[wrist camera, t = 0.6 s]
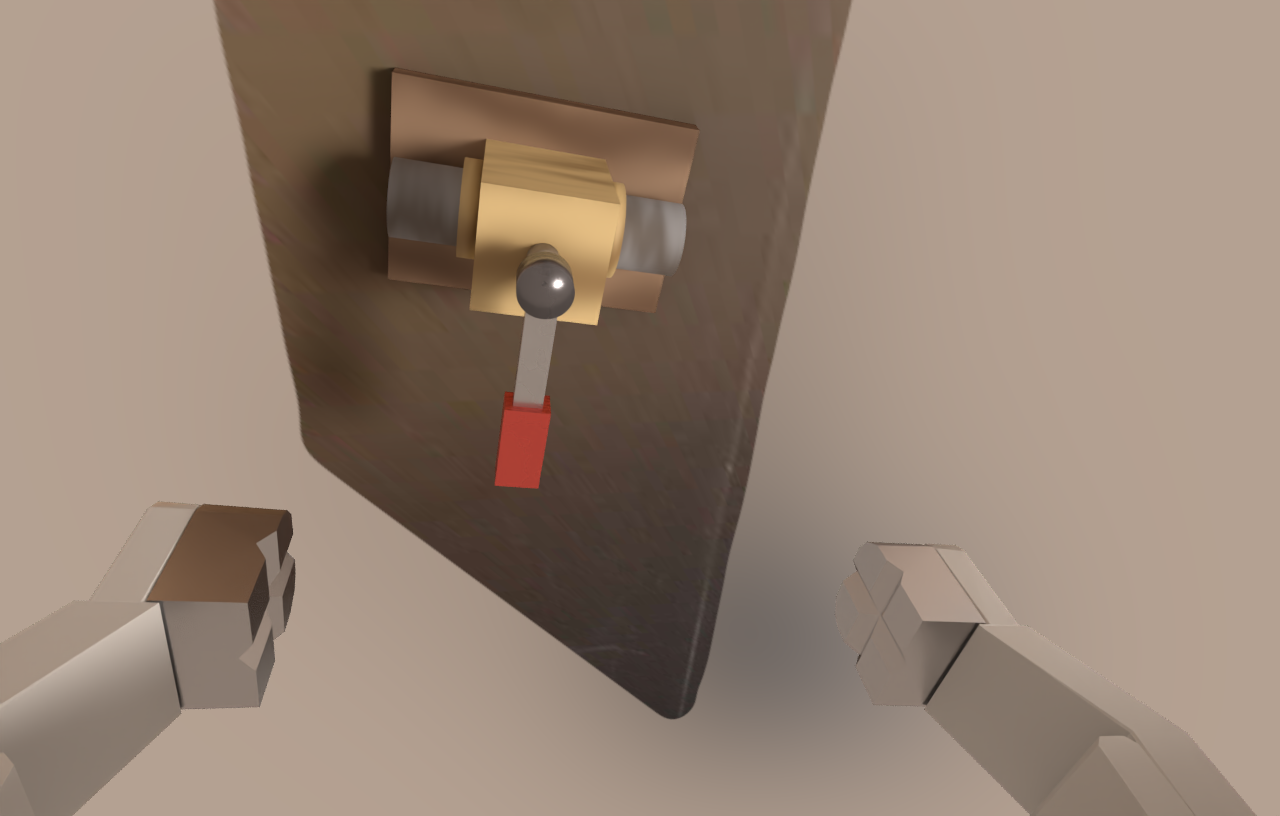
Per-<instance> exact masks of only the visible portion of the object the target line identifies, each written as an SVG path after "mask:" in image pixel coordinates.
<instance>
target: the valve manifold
mask: <svg viewBox="0 0 1280 816" xmlns="http://www.w3.org/2000/svg"><path fill="white" fill-rule="evenodd" d="M699 132H700V130H699V129H698V128H697V126H696V125H693V124H688V123H683V122H677V121H672V120H667V119H662V118H657V117H651V116H646V115H641V114H636V113H630V112H625V111H620V110H615V109H609V108H604V107H599V106H594V105H588V104H583V103H578V102H573V101H568V100H562V99H557V98H552V97H547V96H541V95H536V94H531V93H526V92H520V91H515V90H510V89H505V88H500V87H494V86H489V85H484V84H479V83H473V82H468V81H463V80H458V79H452V78H447V77H442V76H437V75H431V74H426V73H421V72H416V71H411V70H405V69H400V68H395V69H394V70H393V71H392V93H391V143H390V175H389V183H388V194H387V231H388V236H389V242H388V279H391V280H398V281H406V282H414V283H422V284H430V285H438V286H446V287H454V288H462V289H469V290H471V301H470V310H475V311H484V312H492V313H500V314H508V315H517V316H524V310H523V309H522V308H521V307H520V305H519V303H518V301H517V297H516V273H517V269H518V267H519V265H520V263H521V262H522V261H523V260H524V259H525V258H526V257H527V256H529V255H531V254H533V253H536V252H542V251H546V252H552V253H555V254H557V255H559V256H561V257H562V258H564V259H565V260H566V261H567V263H568V264H569V266H570V268H571V270H572V275H573V282H574V288H575V297H574V301H573V303H572V305H571V307H570V308H569V309H568V310H567V311H566V312H565V313H564V314H563V315H561V316H559V317H557V320H558V321H567V322H575V323H583V324H592V325H597V323H598V317H599V312H600V307H601V306H604V307H611V308H619V309H627V310H635V311H643V312H651V313H655V312H656V307H657V303H658V299H659V295H660V291H661V287H662V283H663V279H664V275H666V276H672V275H673V274H674V273H675V272H676V270H677V268H678V265H679V263H680V260H681V256H682V252H683V248H684V242H685V235H686V211H685V207H684V205H683V204H682V201H683V197H684V193H685V189H686V185H687V181H688V177H689V172H690V168H691V164H692V160H693V156H694V152H695V148H696V144H697V140H698V136H699Z"/></svg>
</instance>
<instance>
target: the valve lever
mask: <svg viewBox="0 0 1280 816" xmlns="http://www.w3.org/2000/svg"><path fill="white" fill-rule="evenodd" d="M516 297H517V301H518V303H519V305H520V307H521V308H522V309H523V310H524V319H523V326H522V334H521V341H520V348H519V356H518V363H517V371H516V378H515V385H514V393H513V392H505V395H504V403H503V411H502V419H501V426H500V434H499V442H498V450H497V458H496V466H495V486H509V487H524V488H538V486H539V480H540V474H541V468H542V463H543V457H544V451H545V445H546V439H547V433H548V428H549V422H550V416H551V410H550V396H545V390H546V384H547V377H548V371H549V365H550V359H551V353H552V347H553V341H554V335H555V328H556V322H557V317H559V316H561V315H563V314H564V313H565V312H566V311H567V310H568V309H569V308H570V307H571V305H572V303H573V301H574V297H575V288H574V282H573V275H572V270H571V268H570V266H569V264H568V263H567V261H566V260H565V259H564V258H562V257H561V256H559V255H557V254H555V253H552V252H546V251H542V252H536V253H533V254H531V255H529V256H527V257H526V258H525V259H524V260H523V261H522V262H521V263H520V265H519V267H518V269H517V273H516Z"/></svg>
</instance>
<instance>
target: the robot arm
mask: <svg viewBox="0 0 1280 816" xmlns="http://www.w3.org/2000/svg"><path fill="white" fill-rule="evenodd" d="M292 535H293V528H292V517H291V514H290V513H289V512H288V511H287V510H275V509H262V508H249V507H236V506H223V505H210V504H203V505H198V504H185V503H173V502H160V501H158V502H157V503H155V504H154V505H152V506H151V507H149V508H148V509H147V510H146V512H145V513H144V515H143V516H142V518H141V519H140V521H139V523H138V524H137V526H136V527H135V529H134V531H133V532H132V534H131V535H130V537H129V538H128V540H127V542H126V543H125V545H124V546H123V548H122V549H121V551H120V553H119V554H118V556H117V557H116V559H115V560H114V562H113V564H112V565H111V567H110V569H109V570H108V571H107V573H106V574H105V576H104V578H103V579H102V581H101V582H100V584H99V585H98V587H97V589H96V590H95V592H94V593H93V595H92V597H91V598H90V600H89V601H72V602H71V603H69V604H67V605H66V606H64V607H62V608H60V609H59V610H57V611H55V612H54V613H52V614H50V615H48V616H47V617H45V618H44V619H41V620H40V621H38V622H36V623H35V624H33V625H31V626H29V627H28V628H26V629H24V630H23V631H21V632H19V633H17V634H16V635H14V636H12V637H11V638H9V639H7V640H5V641H4V642H2V643H0V816H72V815H74V814H75V813H76V812H77V811H78V810H79V809H80V808H81V807H82V806H83V805H84V804H85V803H86V802H87V801H89V800H90V799H91V798H92V797H93V796H94V795H95V794H96V793H97V792H98V791H99V790H100V789H101V788H102V787H103V786H104V785H106V784H107V783H108V782H109V781H110V780H111V779H112V778H113V777H114V776H115V775H116V774H117V773H118V772H119V771H120V770H122V768H124V767H125V766H126V765H127V764H128V763H129V762H130V761H131V760H132V759H133V758H134V757H136V755H137V754H139V753H140V752H141V751H142V750H143V749H144V748H145V747H146V746H147V745H148V744H149V743H150V742H151V741H153V740H154V739H155V738H156V737H157V736H158V735H159V734H160V733H161V732H162V731H163V730H164V729H165V728H167V727H168V726H169V725H170V724H171V723H172V722H173V721H174V720H175V719H176V718H177V717H178V716H179V715H180V714H181V709H205V708H241V707H242V708H243V707H260V704H261V701H262V698H263V695H264V692H265V689H266V686H267V683H268V680H269V677H270V674H271V671H272V668H273V665H274V662H275V654H274V642H273V640H274V639H276V638H277V637H278V636H280V635H281V634H282V633H283V632H284V631H285V628H286V625H287V622H288V619H289V615H290V612H291V606H292V600H293V595H294V589H295V559H294V558H293V557H292V556H291V555H290V554H289V553H288V552H287V550H288V547H289V544H290V541H291V538H292ZM853 562H854V565H855V567H856V570H857V571H856V572H855V573H853V574H852V575H851V576H849V577H848V578H846V579H845V580H844V581H843V582H842V584H841V586H840V589H839V591H838V594H837V596H836V606H835V607H836V608H835V617H836V621H837V626H838V629H839V632H840V634H841V636H842V639H843V641H844V642H845V643H846V644H847V645H848V646H849V647H851V648H852V649H853V650H854V651H855V652H856V653H858V654H859V656H858V660H857V663H856V669H857V671H858V673H859V675H860V677H861V680H862V682H863V684H864V686H865V688H866V690H867V692H868V694H869V697H870V699H871V701H872V703H873V705H887V706H889V705H890V706H925V709H924V710H926V712H927V713H928V714H930V715H931V716H932V718H934V719H935V721H937V722H938V723H939V724H940V725H941V726H942V727H943V728H944V729H945V730H946V731H947V732H948V733H949V734H950V735H951V736H952V737H953V738H954V739H955V740H956V741H957V742H958V743H959V744H960V745H961V746H962V747H963V748H964V749H965V750H966V751H967V752H968V753H969V754H970V755H971V756H972V757H973V758H974V759H975V760H976V761H977V762H978V763H979V764H980V765H981V766H982V767H983V768H984V769H985V770H986V771H987V772H988V773H989V774H990V775H991V776H992V777H993V778H994V779H995V780H996V781H997V782H998V783H999V784H1000V785H1001V786H1002V787H1003V788H1004V789H1005V790H1006V791H1007V792H1008V793H1009V794H1010V795H1011V796H1012V797H1013V798H1014V799H1015V800H1016V801H1017V802H1018V803H1019V804H1020V805H1021V806H1022V807H1023V808H1024V809H1025V810H1026V811H1027V812H1028V813H1029V814H1030V816H1256V815H1255V813H1254V812H1253V811H1252V810H1251V808H1250V807H1249V806H1248V805H1247V804H1246V803H1245V801H1244V800H1243V799H1242V798H1241V796H1240V795H1239V794H1238V793H1237V792H1236V791H1235V789H1234V788H1233V787H1232V786H1231V785H1230V783H1229V782H1228V781H1227V780H1226V779H1225V777H1224V776H1223V775H1222V774H1221V773H1220V771H1219V770H1218V769H1217V768H1216V767H1215V765H1214V764H1213V763H1212V762H1211V761H1210V759H1209V758H1208V757H1207V756H1206V755H1205V754H1204V752H1203V751H1202V750H1201V749H1200V748H1199V746H1198V745H1197V744H1196V743H1195V741H1194V740H1193V739H1192V738H1191V737H1190V735H1189V734H1188V733H1187V732H1185V731H1184V730H1182V729H1181V728H1179V727H1178V726H1176V725H1175V724H1173V723H1172V722H1170V721H1169V720H1167V719H1166V718H1164V717H1163V716H1161V715H1160V714H1158V713H1157V712H1156V711H1154V710H1153V709H1151V708H1149V707H1148V706H1147V705H1145V704H1143V703H1142V702H1140V701H1139V700H1137V699H1136V698H1135V697H1133V696H1132V695H1130V694H1129V693H1127V692H1126V691H1124V690H1123V689H1121V688H1120V687H1118V686H1117V685H1115V684H1114V683H1112V682H1111V681H1109V680H1108V679H1106V678H1105V677H1103V676H1102V675H1100V674H1099V673H1097V672H1096V671H1094V670H1093V669H1091V668H1090V667H1088V666H1087V665H1086V664H1084V663H1083V662H1081V661H1080V660H1078V659H1077V658H1075V657H1074V656H1072V655H1071V654H1069V653H1068V652H1066V651H1065V650H1063V649H1062V648H1060V647H1058V646H1057V645H1056V644H1054V643H1053V642H1051V641H1050V640H1048V639H1047V638H1045V637H1044V636H1042V635H1041V634H1039V633H1038V632H1036V631H1035V630H1033V629H1032V628H1030V627H1029V626H1026V625H1018V624H1017V622H1016V621H1015V619H1014V618H1013V617H1012V615H1011V614H1010V612H1009V611H1008V610H1007V609H1006V607H1005V606H1004V604H1003V603H1002V601H1001V600H1000V599H999V597H998V596H997V595H996V593H995V592H994V591H993V589H992V588H991V587H990V585H989V584H988V582H987V581H986V580H985V578H984V577H983V575H982V574H981V573H980V571H979V570H978V569H977V567H976V566H975V565H974V563H973V562H972V560H971V559H970V558H969V556H968V555H967V554H966V552H965V551H964V550H962V549H961V548H959V547H958V546H956V545H942V544H925V545H922V544H907V543H906V544H905V543H884V542H866V543H865V544H864V545H862V546H861V547H860V548H859V549H858V551H857V553H856V555H855V557H854V559H853Z"/></svg>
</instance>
